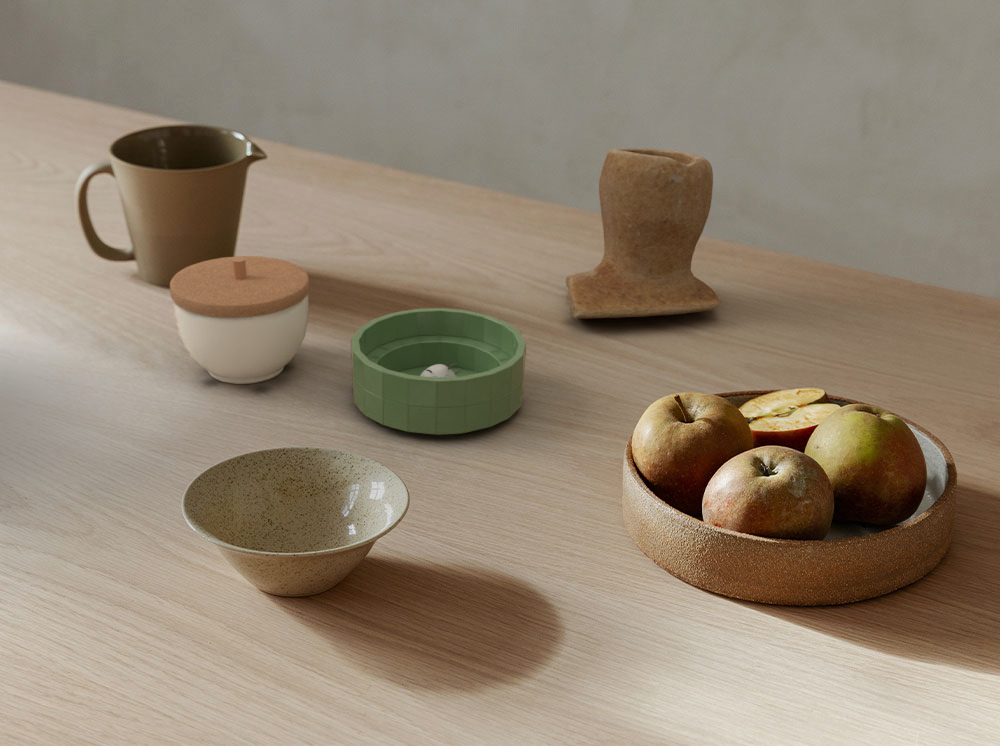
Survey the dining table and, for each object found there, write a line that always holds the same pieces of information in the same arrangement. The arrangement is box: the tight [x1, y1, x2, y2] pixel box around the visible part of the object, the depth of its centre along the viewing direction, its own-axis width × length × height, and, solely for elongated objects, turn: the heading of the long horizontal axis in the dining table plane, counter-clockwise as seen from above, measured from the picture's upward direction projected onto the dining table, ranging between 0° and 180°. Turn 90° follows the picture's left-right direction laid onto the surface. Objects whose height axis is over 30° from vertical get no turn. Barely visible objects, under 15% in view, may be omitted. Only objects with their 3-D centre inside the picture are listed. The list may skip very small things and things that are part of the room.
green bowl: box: [350, 307, 527, 436], centre depth 85 cm, size 13×13×5 cm
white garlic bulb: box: [420, 364, 460, 378], centre depth 85 cm, size 3×4×3 cm
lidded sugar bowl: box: [169, 255, 310, 385], centre depth 88 cm, size 11×11×9 cm
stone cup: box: [565, 147, 721, 319], centre depth 102 cm, size 15×12×15 cm
